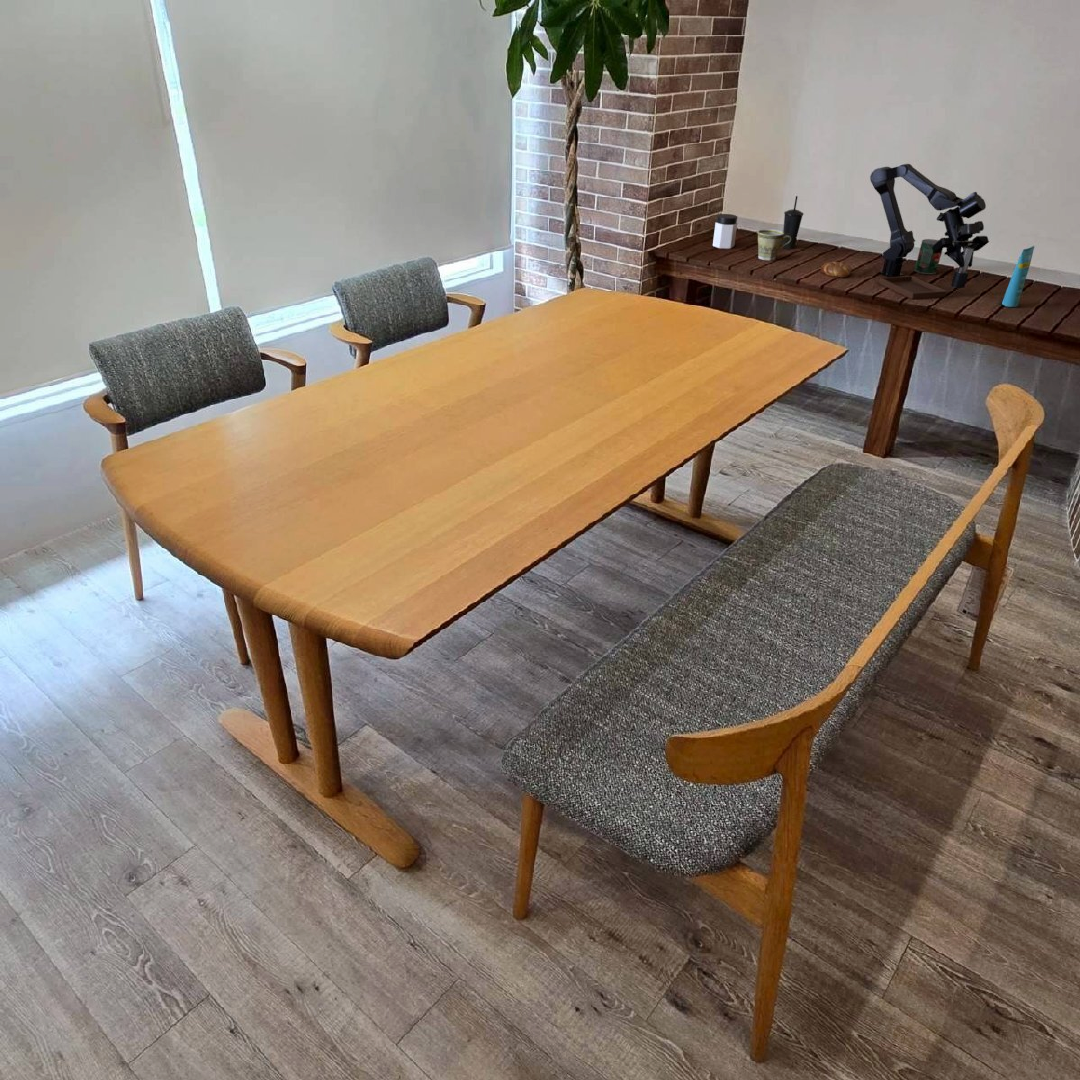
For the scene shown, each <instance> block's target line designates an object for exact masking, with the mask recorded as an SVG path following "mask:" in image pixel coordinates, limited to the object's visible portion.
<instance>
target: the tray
mask: <svg viewBox="0 0 1080 1080" xmlns="http://www.w3.org/2000/svg"><path fill="white" fill-rule="evenodd" d="M878 284H879V285H880V286H884V287H886V288H888V289H890V290H891V291H893V292H896V293H898V294H900V295H902V296H904V297H906V298H908V299H910V300H921V299H922V300H923V299H933V298H934V299H935V298H945V297H946V295H947V293H948V291H947V290H946V289H943V288H941V287H938V286H937V285H934V284H932V283H930V282H928V281H925V280H923V279H921V278H918V277H916V276H914V275H903V276H895V277H887V276H884V277H879V280H878Z"/></svg>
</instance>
